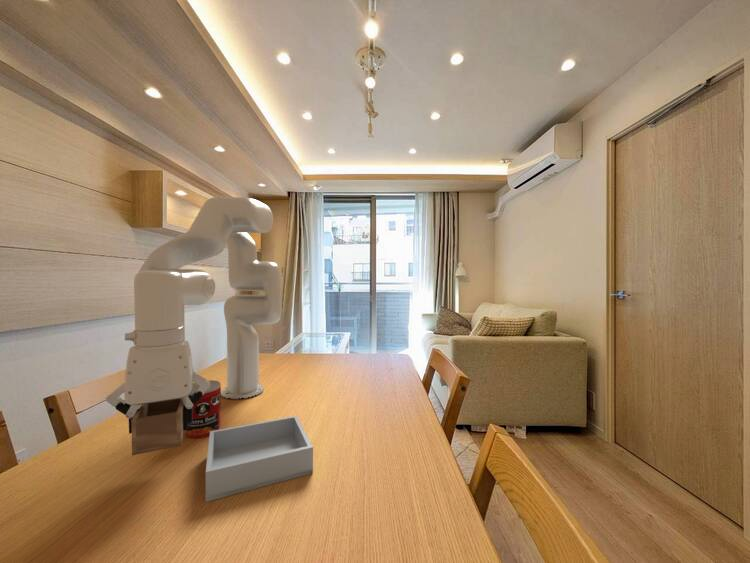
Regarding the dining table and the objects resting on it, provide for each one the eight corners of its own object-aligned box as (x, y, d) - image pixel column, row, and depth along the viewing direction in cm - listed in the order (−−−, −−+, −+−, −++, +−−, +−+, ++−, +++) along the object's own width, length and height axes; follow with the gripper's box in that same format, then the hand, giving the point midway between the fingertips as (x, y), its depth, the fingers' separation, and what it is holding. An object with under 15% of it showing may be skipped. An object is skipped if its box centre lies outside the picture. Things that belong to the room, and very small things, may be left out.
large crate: (209, 455, 65) (209, 431, 64) (296, 436, 72) (296, 415, 72) (205, 502, 51) (205, 472, 51) (312, 473, 59) (313, 447, 59)
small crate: (146, 427, 61) (145, 397, 60) (187, 420, 64) (186, 391, 64) (132, 455, 52) (131, 420, 51) (181, 445, 55) (180, 412, 55)
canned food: (183, 442, 70) (183, 393, 70) (185, 426, 77) (186, 382, 77) (220, 434, 73) (221, 388, 73) (220, 420, 80) (220, 378, 80)
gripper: (91, 346, 50) (94, 453, 51) (213, 337, 57) (214, 430, 58) (107, 337, 57) (110, 431, 57) (214, 329, 64) (215, 413, 65)
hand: (162, 430), depth 58 cm, fingers closed on small crate, 7 cm apart
